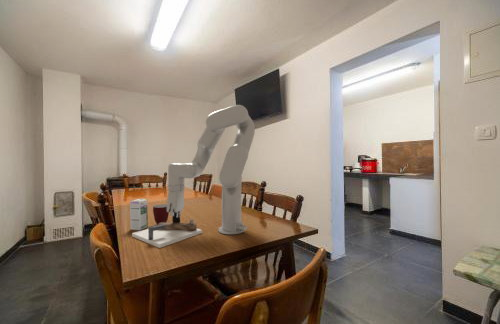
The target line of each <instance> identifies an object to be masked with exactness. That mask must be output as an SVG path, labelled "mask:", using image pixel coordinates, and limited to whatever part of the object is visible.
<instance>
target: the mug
mask: <svg viewBox="0 0 500 324" xmlns="http://www.w3.org/2000/svg"><path fill="white" fill-rule="evenodd" d="M152 214H153V218H154V222H155V224H156V225H158V224H159V223H161V222H167V223H168V219H169V215H170V212H167V204H164V203H163V204H156V205H153V207H152Z"/></svg>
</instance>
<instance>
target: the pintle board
mask: <svg viewBox="0 0 500 324" xmlns="http://www.w3.org/2000/svg"><path fill="white" fill-rule="evenodd" d="M202 233H203V229H201V228H197V229H196V230H194V231H187V230H168V229H160V230H155V231H153V240H148V228H146V229H142V230H137V231H135V232H132V233H131V237H132V238H134V239H137V240H140V241H142V242H144V243H147V244H149V245H151V246H154V247H156V248H158V249H161V248H163V247H167V246H169V245H172V244H175V243H178V242H180V241H184V240H187V239H189V238H191V237H195V236H198V235H200V234H202Z"/></svg>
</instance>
